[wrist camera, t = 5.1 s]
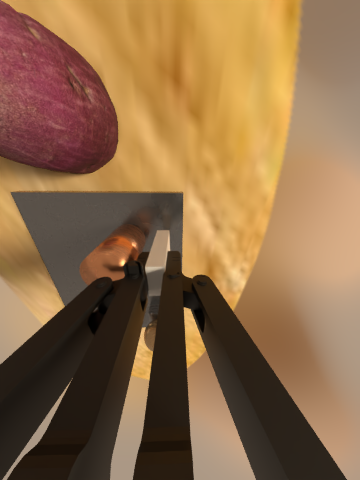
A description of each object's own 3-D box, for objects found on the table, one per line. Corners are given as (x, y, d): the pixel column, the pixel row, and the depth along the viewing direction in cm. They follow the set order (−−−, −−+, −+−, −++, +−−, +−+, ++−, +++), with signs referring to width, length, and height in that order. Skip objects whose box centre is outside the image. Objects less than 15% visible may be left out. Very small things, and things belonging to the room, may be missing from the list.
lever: (133, 335, 26) (120, 386, 20) (104, 332, 25) (81, 384, 19) (152, 229, 17) (140, 260, 11) (108, 219, 17) (69, 247, 10)
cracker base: (20, 191, 17) (-76, 202, 11) (182, 191, 18) (187, 202, 11) (80, 323, 28) (50, 370, 21) (180, 320, 29) (182, 364, 22)
